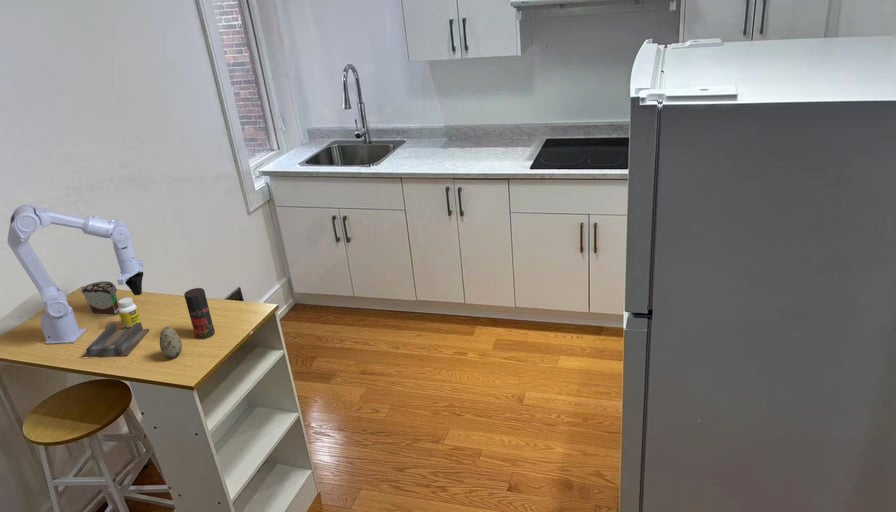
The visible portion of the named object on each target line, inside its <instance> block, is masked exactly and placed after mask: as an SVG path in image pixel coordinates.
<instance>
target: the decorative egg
mask: <svg viewBox="0 0 896 512" xmlns="http://www.w3.org/2000/svg"><path fill="white" fill-rule="evenodd" d="M159 348H160V350H161V353H162V355H164V356H165V357H167V358H176V357H178V356H179V355H180V354H181V352H182V350H183V343H182V340H181V338H180V335H178V333H177V332H176V331H175V329H173V327H170V326H165V327H164V328H162V329H161V332H160V336H159Z"/></svg>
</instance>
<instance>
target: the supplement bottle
mask: <svg viewBox="0 0 896 512" xmlns="http://www.w3.org/2000/svg"><path fill="white" fill-rule="evenodd" d="M118 304H119V305H118V308H119V309H118V310H119V312H118V314H119V317H120V320H121V323H122V328H123V330H130V329H131V328H132V327H133V326H134V325H135V324H136V323H138V322H141V321H142V320H141V318H140V314H139V310H138V307H137V305H136V304H135V303H134V301H133V298H132V297H123V298H121V299H119V300H118ZM141 323H142V322H141Z"/></svg>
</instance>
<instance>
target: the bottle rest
mask: <svg viewBox="0 0 896 512" xmlns="http://www.w3.org/2000/svg"><path fill="white" fill-rule="evenodd" d="M149 332H150V328H143V325H142V322H138V323H136V324H135V325H134V326H133V327H132V328H131V329H130V330H125V329H118V327H117V324H116V323H110V324H109V325H108V326H107V327H106V328H105V329H104V330H103V331H102V332H101V333H100V334H99V335H98V336H97V337H96V339H94V340H93V341H92V343H90V344H89V346H88V347H87V348H86V352H85V353H84V354H83V355H82V358H83V357H98V358H115V357H118V358H120V357H121V358H122V357H128V356H129V355H130V354H131V353H132V351H134V349H135V348H136V347H137V346H138V345H139V343H140V342H141V341H142V340H143V338H145V336H146V335H147V334H148V333H149Z"/></svg>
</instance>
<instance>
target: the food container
mask: <svg viewBox="0 0 896 512" xmlns="http://www.w3.org/2000/svg"><path fill="white" fill-rule="evenodd" d="M117 290H118V288H117V286H116V285H115V283H113V282H111V281H107V280H106V281H105V280H104V281H96V282H92V283H90V284H87V285H84V286H82V287H81V289H80V291H81V294H83V296H84V299H85V301H86V304H87V305H88V308H89V311H90V312H91V314H92V315H98V314H102V315H101V316H103V315H104V314H105V315H104V316H115V315H116V316H117V315H118V314H119V310H118V309H119V305H118V304H119V302H118V298H117V294H116V292H117Z"/></svg>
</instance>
